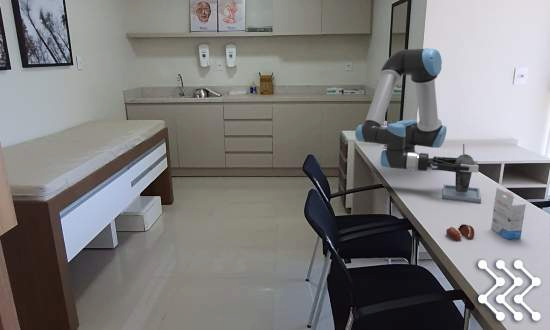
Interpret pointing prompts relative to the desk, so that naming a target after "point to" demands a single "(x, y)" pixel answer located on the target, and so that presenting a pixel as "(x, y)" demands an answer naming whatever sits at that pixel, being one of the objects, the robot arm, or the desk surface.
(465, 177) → the beverage cup
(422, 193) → the desk surface
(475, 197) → the tray
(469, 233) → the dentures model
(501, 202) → the ink box
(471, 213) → the desk surface
